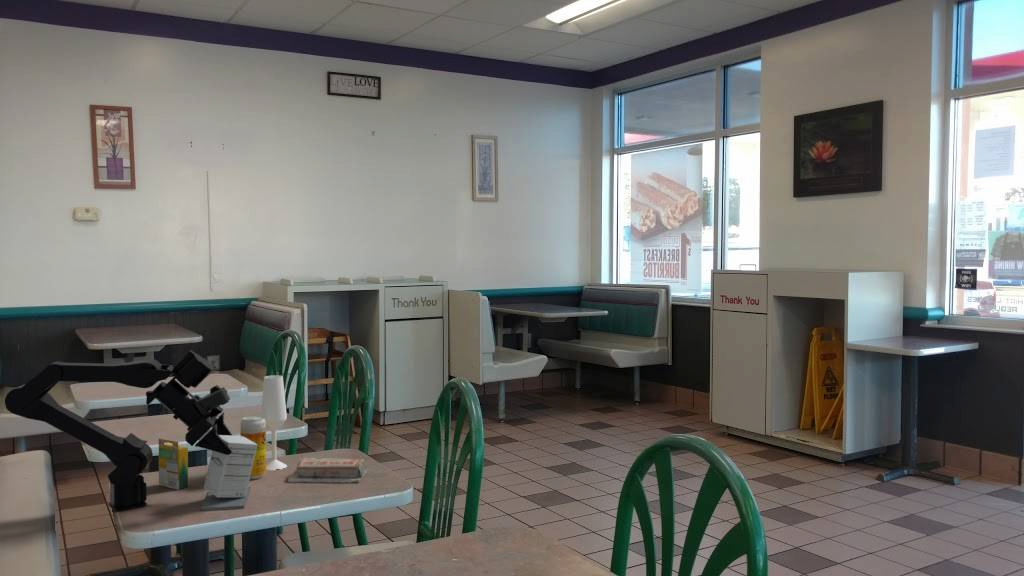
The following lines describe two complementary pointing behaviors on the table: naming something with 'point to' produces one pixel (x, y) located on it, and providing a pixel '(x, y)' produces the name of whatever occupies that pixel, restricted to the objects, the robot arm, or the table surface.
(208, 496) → the mat
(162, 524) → the table surface
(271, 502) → the table surface
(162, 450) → the crayon box
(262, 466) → the beer can
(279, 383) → the champagne flute
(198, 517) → the table surface
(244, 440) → the supplement box
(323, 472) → the packaged product
